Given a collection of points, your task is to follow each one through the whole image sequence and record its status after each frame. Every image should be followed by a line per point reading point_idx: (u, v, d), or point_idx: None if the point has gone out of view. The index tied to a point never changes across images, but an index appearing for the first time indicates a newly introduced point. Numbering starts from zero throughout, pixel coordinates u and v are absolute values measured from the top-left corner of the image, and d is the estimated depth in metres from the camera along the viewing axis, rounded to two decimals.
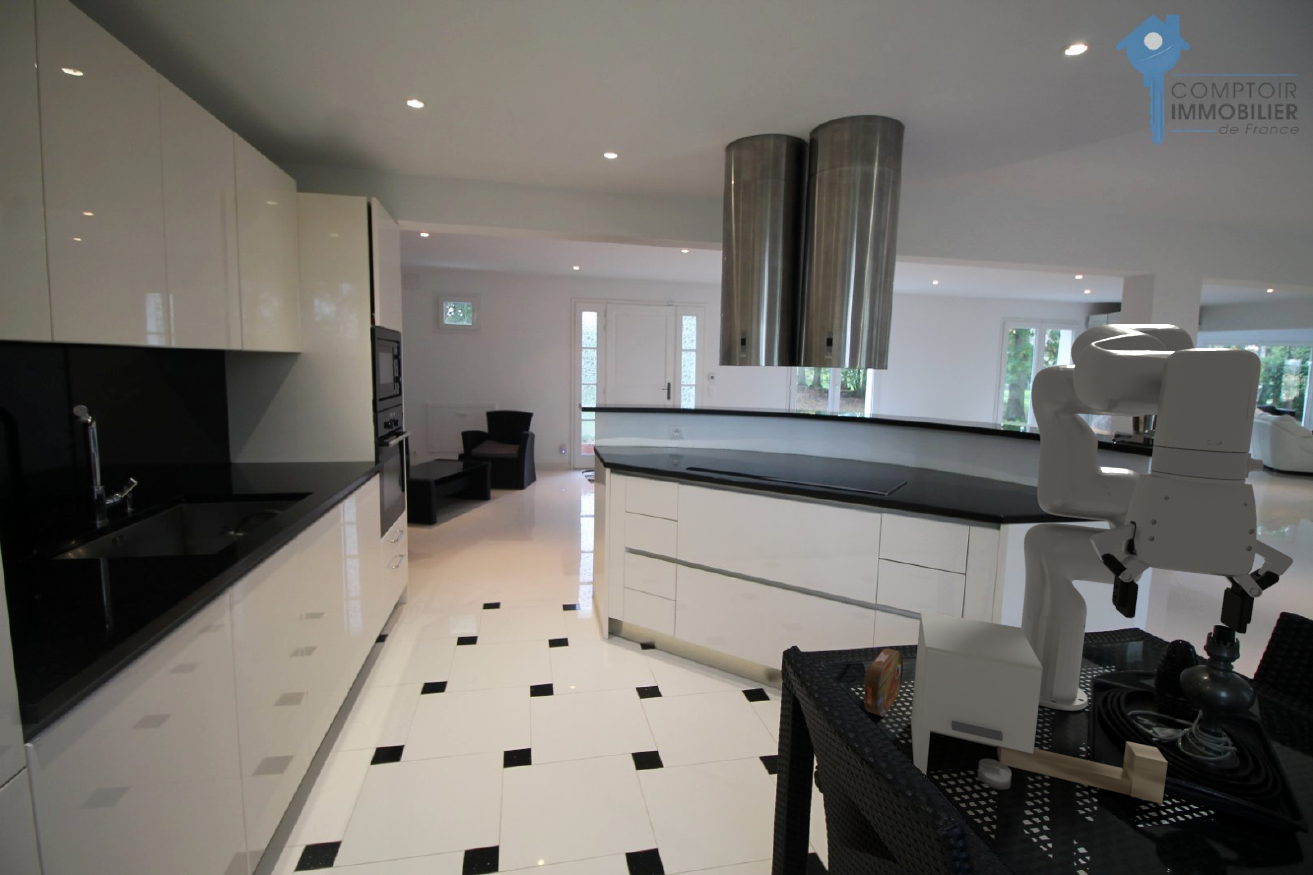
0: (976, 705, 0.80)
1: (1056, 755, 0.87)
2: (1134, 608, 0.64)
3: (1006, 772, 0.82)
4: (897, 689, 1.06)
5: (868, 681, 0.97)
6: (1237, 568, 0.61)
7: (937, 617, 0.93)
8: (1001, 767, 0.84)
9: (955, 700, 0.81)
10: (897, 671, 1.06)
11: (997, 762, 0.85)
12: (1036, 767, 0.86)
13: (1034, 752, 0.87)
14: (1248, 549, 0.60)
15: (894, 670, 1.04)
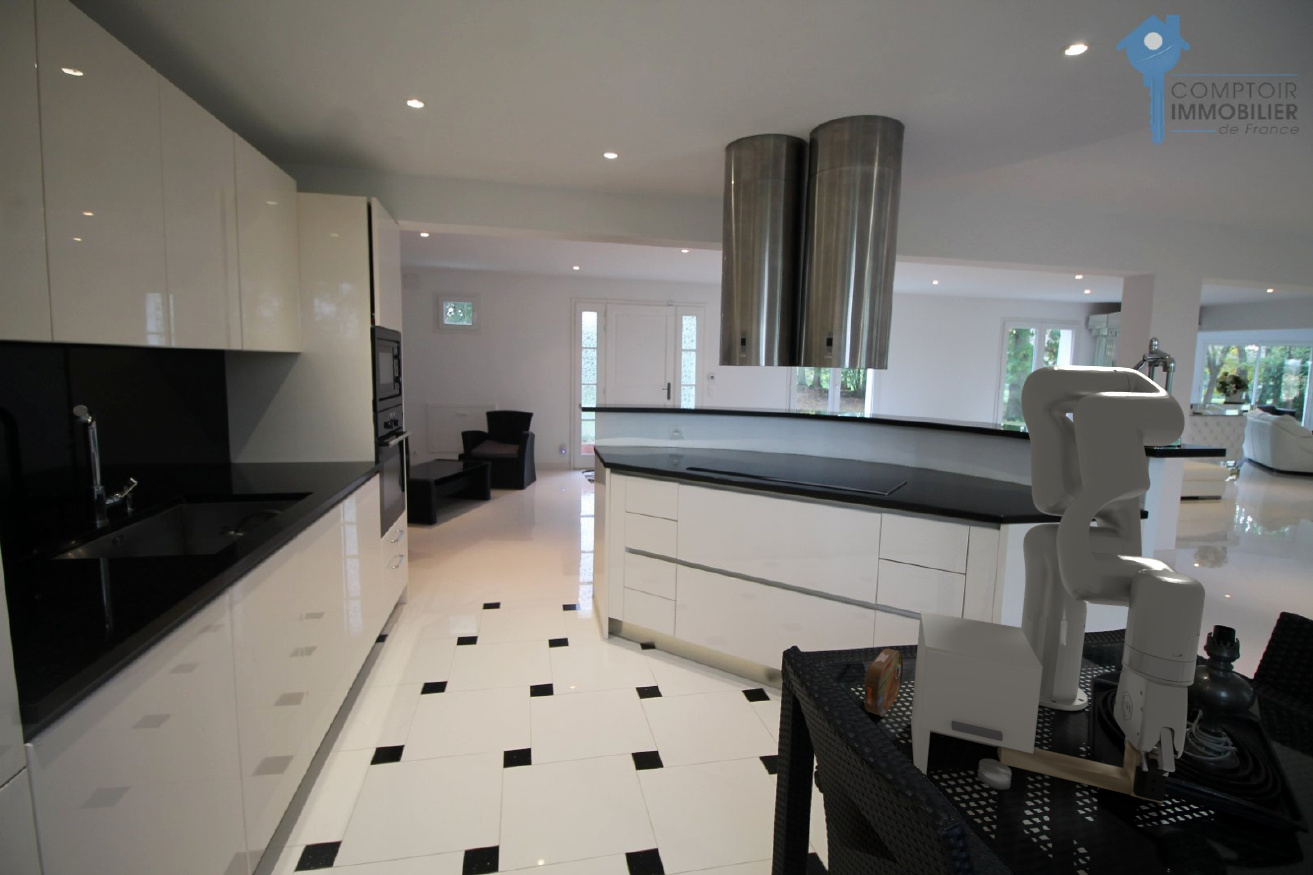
0: (976, 705, 0.80)
1: (1057, 754, 0.87)
2: None
3: (1006, 772, 0.82)
4: (897, 689, 1.06)
5: (868, 681, 0.97)
6: None
7: (937, 617, 0.93)
8: (1001, 767, 0.84)
9: (955, 700, 0.81)
10: (897, 671, 1.06)
11: (997, 762, 0.85)
12: (1036, 766, 0.86)
13: (1034, 752, 0.87)
14: None
15: (894, 670, 1.04)
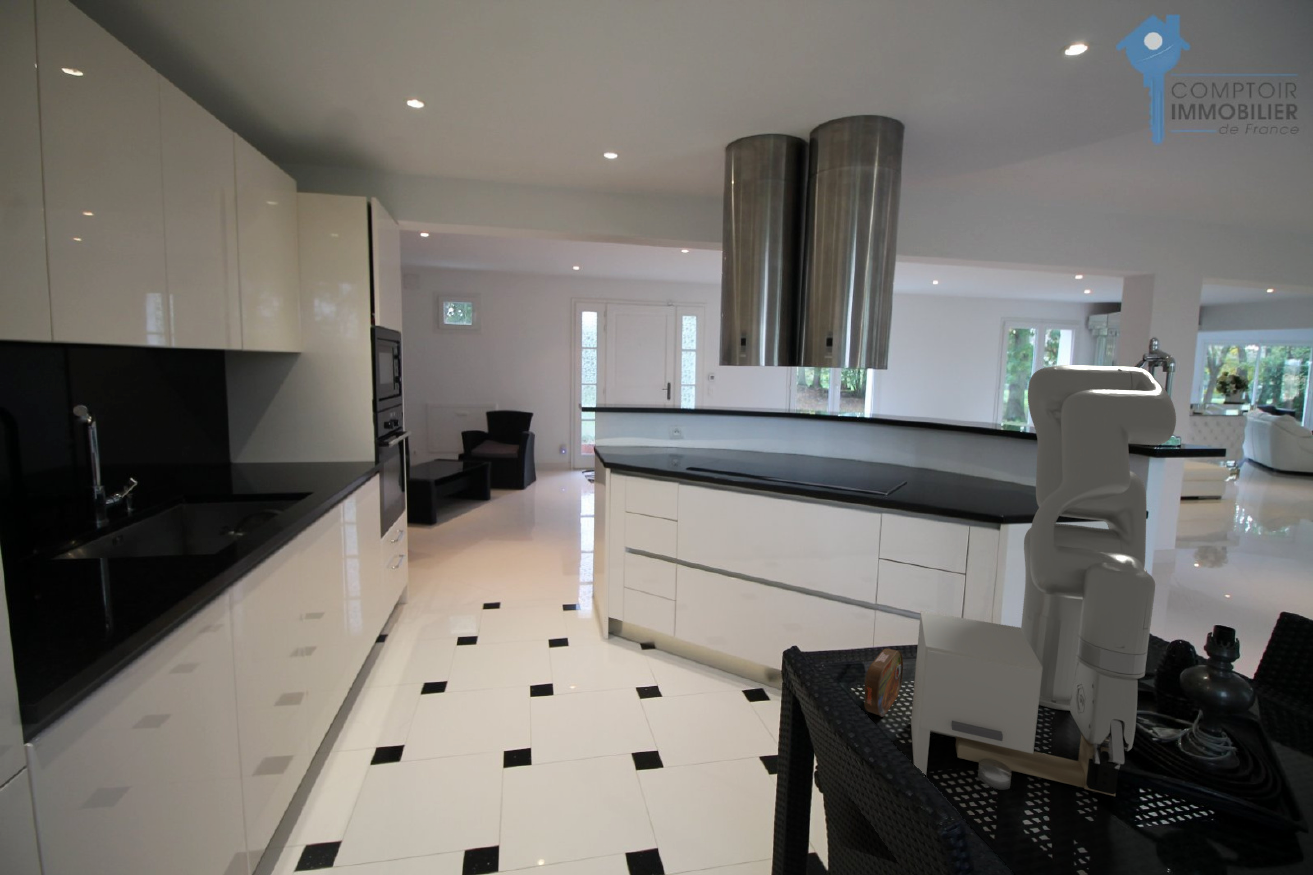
0: (976, 705, 0.80)
1: None
2: None
3: (1006, 772, 0.82)
4: (897, 689, 1.06)
5: (868, 681, 0.97)
6: None
7: (937, 617, 0.93)
8: (1001, 767, 0.84)
9: (955, 700, 0.81)
10: (897, 671, 1.06)
11: (997, 762, 0.85)
12: None
13: (991, 745, 0.87)
14: None
15: (894, 670, 1.04)
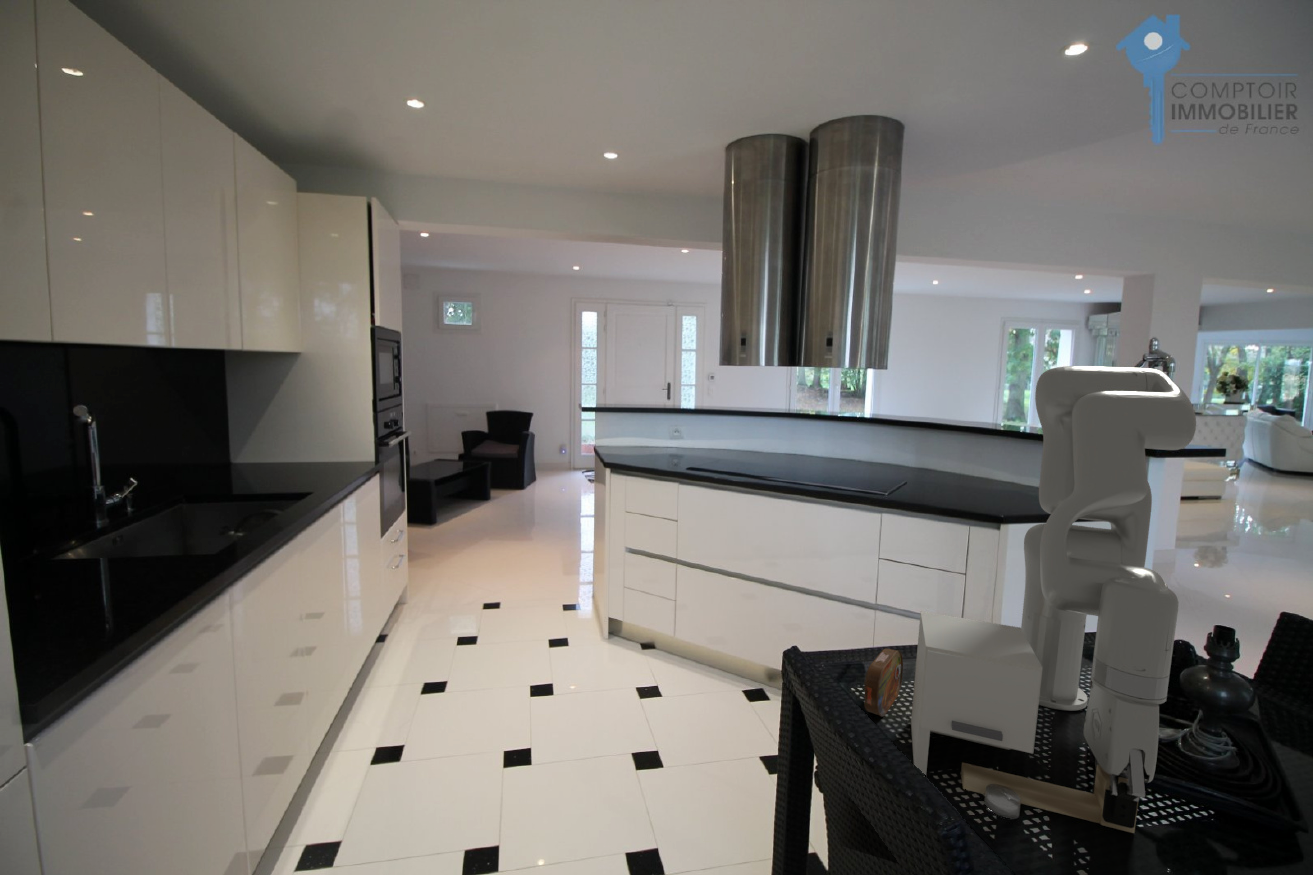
0: (976, 705, 0.80)
1: (1023, 779, 0.81)
2: None
3: (1014, 800, 0.77)
4: (897, 689, 1.06)
5: (868, 681, 0.97)
6: None
7: (937, 617, 0.93)
8: (1010, 794, 0.78)
9: (955, 700, 0.81)
10: (897, 671, 1.06)
11: (1006, 788, 0.79)
12: None
13: (999, 776, 0.81)
14: None
15: (894, 670, 1.04)
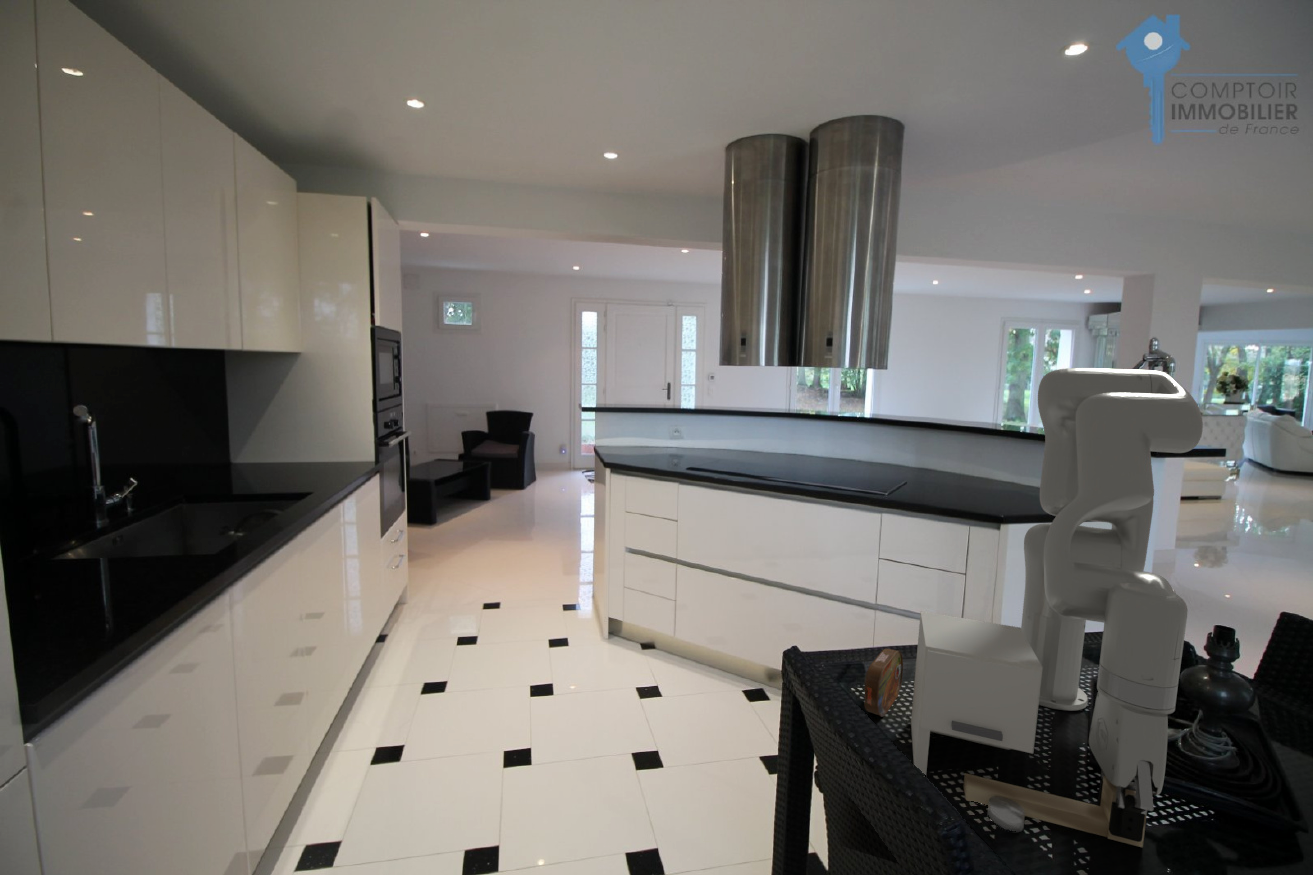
0: (976, 705, 0.80)
1: (1028, 790, 0.79)
2: None
3: (1018, 812, 0.75)
4: (897, 689, 1.06)
5: (868, 681, 0.97)
6: None
7: (937, 617, 0.93)
8: (1013, 806, 0.76)
9: (955, 700, 0.81)
10: (897, 671, 1.06)
11: (1009, 800, 0.77)
12: None
13: (1003, 787, 0.79)
14: None
15: (894, 670, 1.04)
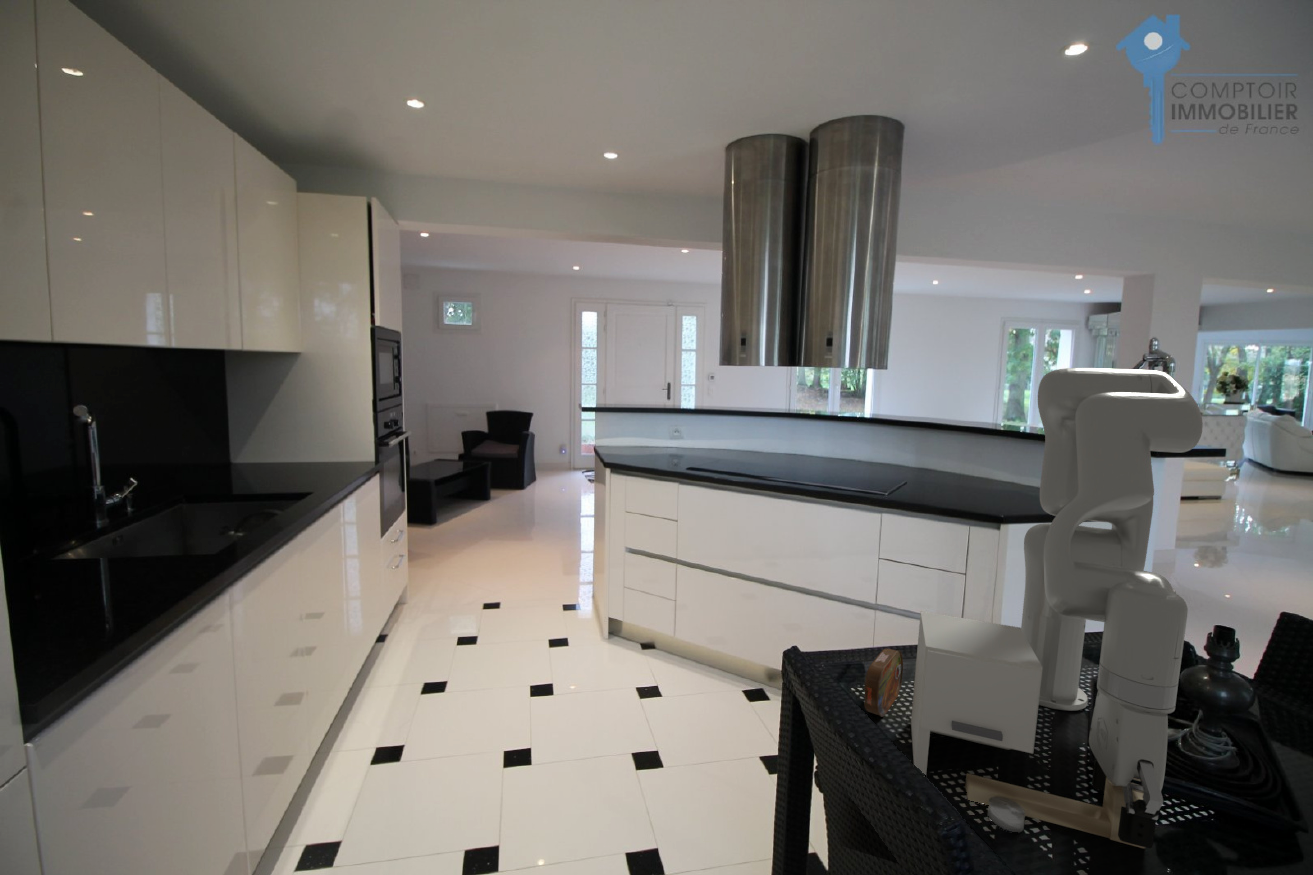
0: (976, 705, 0.80)
1: (1030, 791, 0.79)
2: None
3: (1019, 813, 0.75)
4: (897, 689, 1.06)
5: (868, 681, 0.97)
6: None
7: (937, 617, 0.93)
8: (1013, 806, 0.76)
9: (955, 700, 0.81)
10: (897, 671, 1.06)
11: (1009, 801, 0.77)
12: None
13: (1005, 788, 0.79)
14: None
15: (894, 670, 1.04)
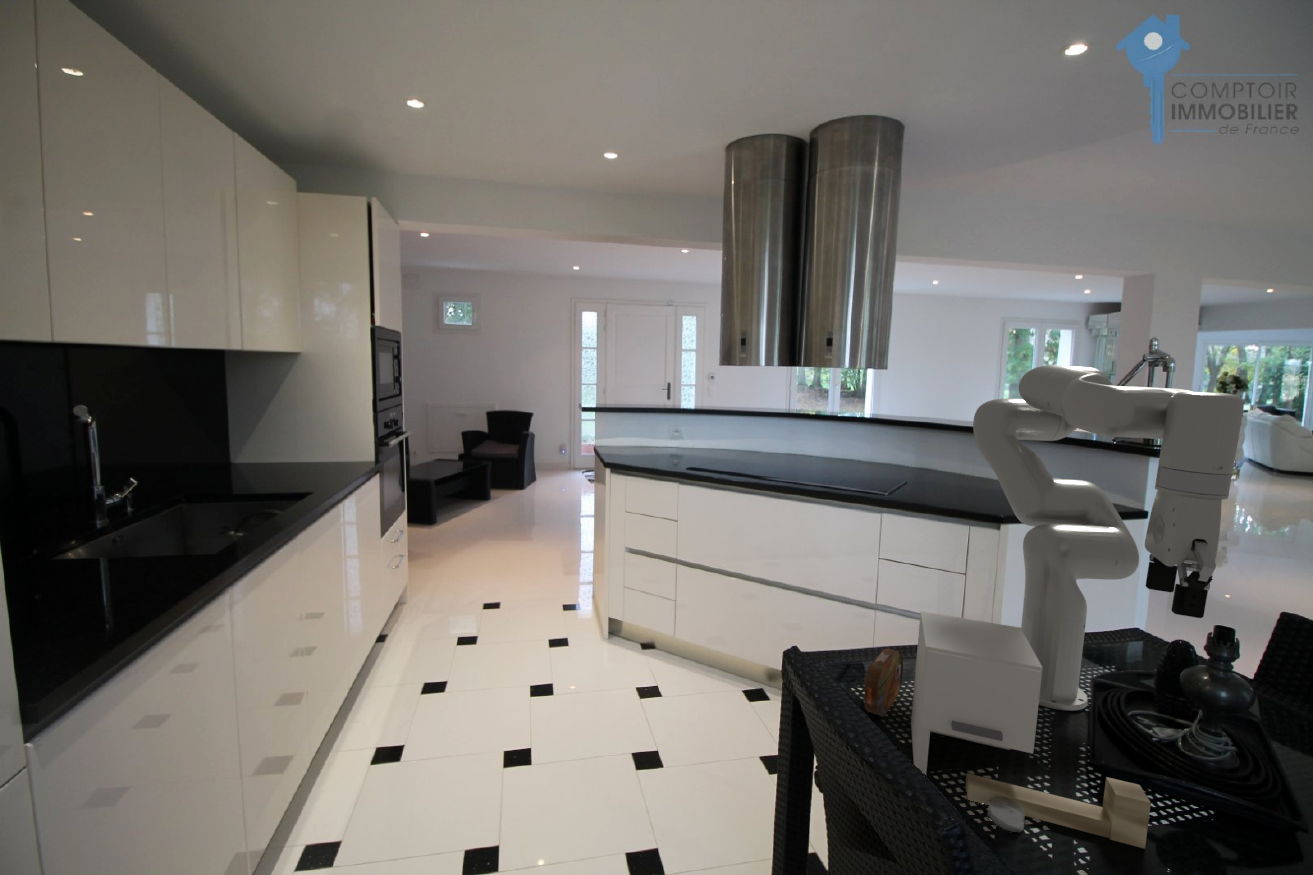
0: (976, 705, 0.80)
1: (1030, 791, 0.79)
2: None
3: (1019, 813, 0.75)
4: (897, 689, 1.06)
5: (868, 681, 0.97)
6: None
7: (937, 617, 0.93)
8: (1013, 806, 0.76)
9: (955, 700, 0.81)
10: (897, 671, 1.06)
11: (1008, 800, 0.77)
12: None
13: (1005, 787, 0.79)
14: None
15: (894, 670, 1.04)
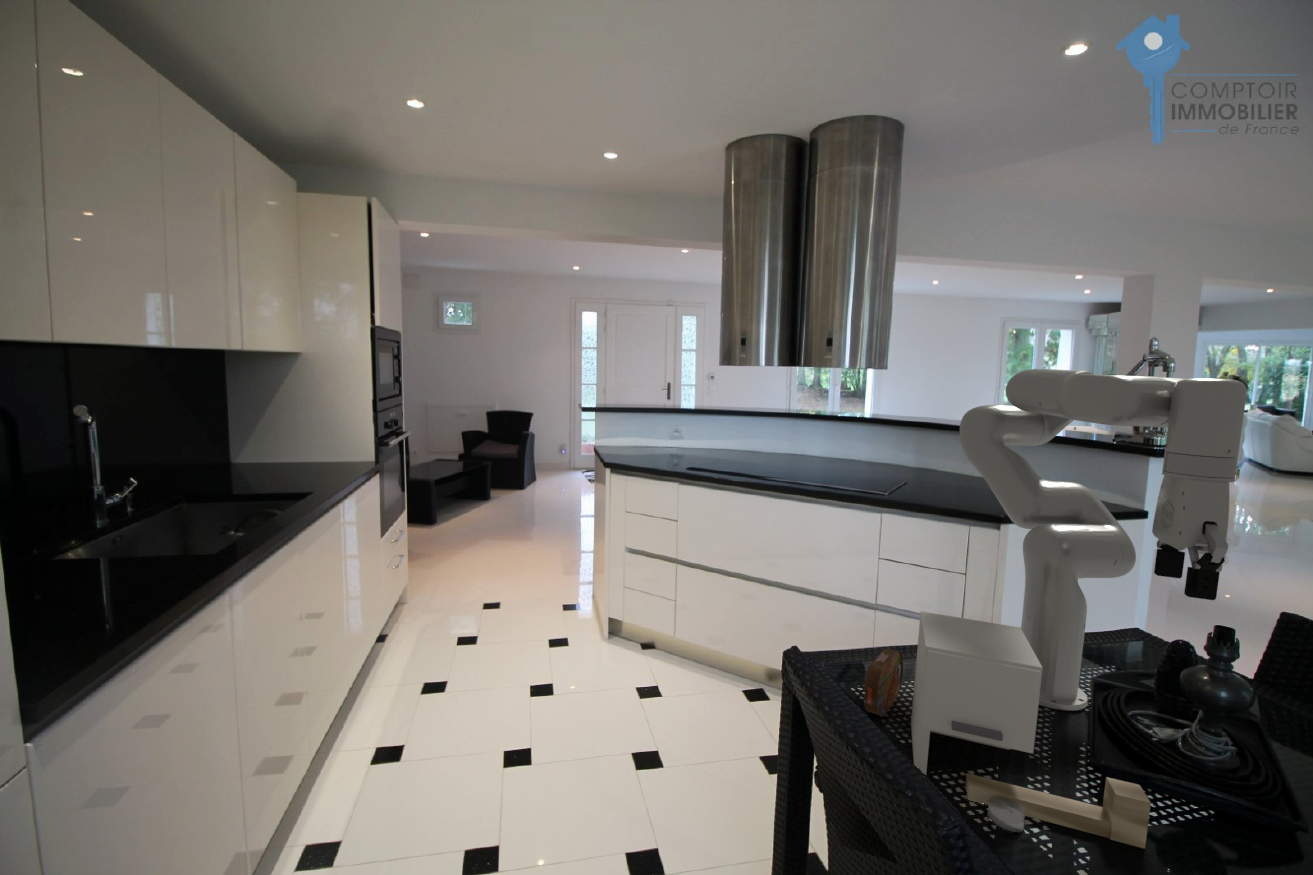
0: (976, 705, 0.80)
1: (1030, 791, 0.79)
2: None
3: (1019, 812, 0.75)
4: (897, 689, 1.06)
5: (868, 681, 0.97)
6: None
7: (937, 617, 0.93)
8: (1013, 806, 0.76)
9: (955, 700, 0.81)
10: (897, 671, 1.06)
11: (1008, 800, 0.77)
12: None
13: (1005, 787, 0.79)
14: None
15: (894, 670, 1.04)
